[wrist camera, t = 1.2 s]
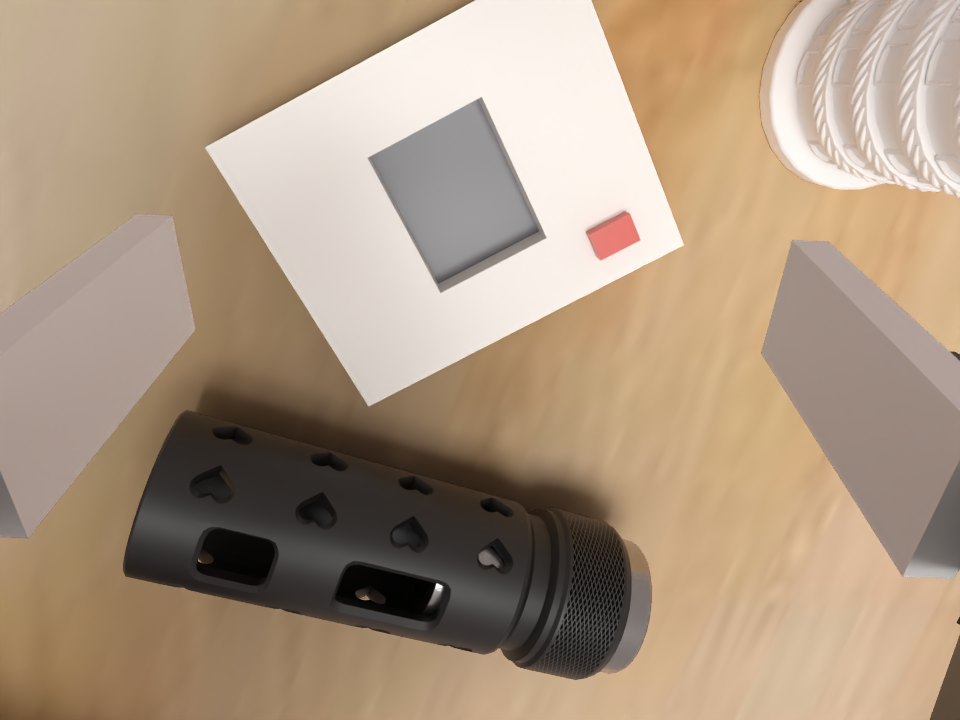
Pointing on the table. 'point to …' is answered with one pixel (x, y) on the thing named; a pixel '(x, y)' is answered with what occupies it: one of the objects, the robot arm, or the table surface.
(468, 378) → the table surface
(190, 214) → the table surface
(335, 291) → the socket plate
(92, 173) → the table surface
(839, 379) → the robot arm
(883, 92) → the decorative container
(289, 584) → the muzzle brake
